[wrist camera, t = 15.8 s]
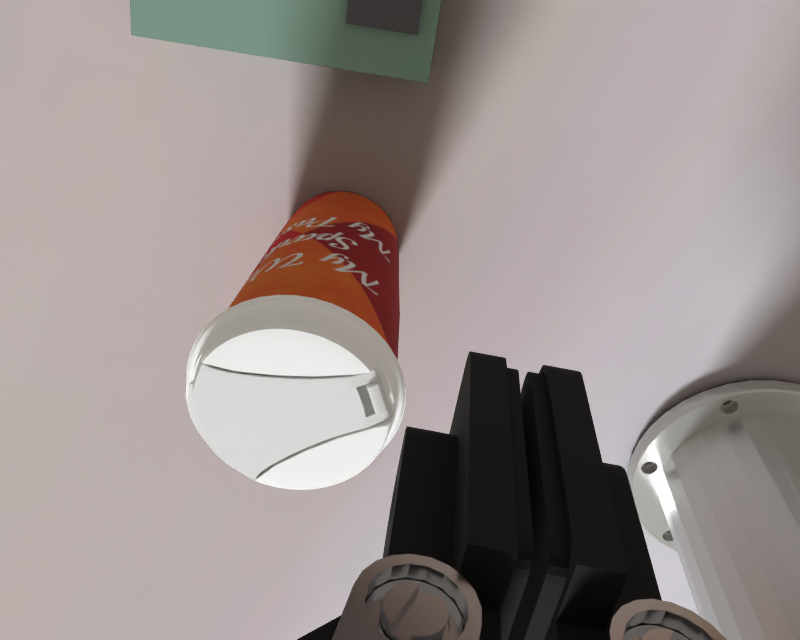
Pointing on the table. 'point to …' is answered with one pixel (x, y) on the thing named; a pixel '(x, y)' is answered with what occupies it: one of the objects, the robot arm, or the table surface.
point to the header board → (303, 31)
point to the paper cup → (307, 352)
